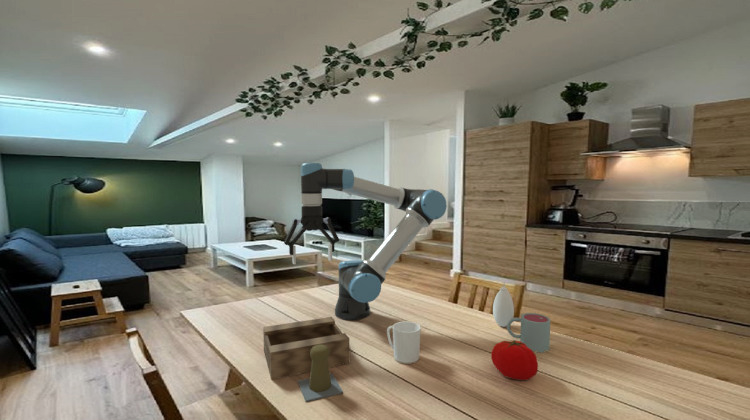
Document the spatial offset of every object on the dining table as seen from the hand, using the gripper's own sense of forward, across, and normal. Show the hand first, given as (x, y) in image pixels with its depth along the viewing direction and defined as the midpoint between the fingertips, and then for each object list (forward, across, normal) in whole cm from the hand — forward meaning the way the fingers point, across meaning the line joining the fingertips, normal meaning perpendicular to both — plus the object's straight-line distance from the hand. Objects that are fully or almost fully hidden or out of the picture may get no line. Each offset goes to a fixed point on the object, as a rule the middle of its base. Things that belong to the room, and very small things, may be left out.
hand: (312, 262), depth 132 cm
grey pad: (+27, +7, +37) cm, 46 cm away
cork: (+26, +7, +37) cm, 46 cm away
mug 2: (+27, -66, +40) cm, 82 cm away
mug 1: (+27, -22, +31) cm, 47 cm away
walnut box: (+27, +7, +18) cm, 33 cm away
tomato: (+27, -47, +53) cm, 76 cm away
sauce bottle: (+27, -70, +24) cm, 79 cm away
